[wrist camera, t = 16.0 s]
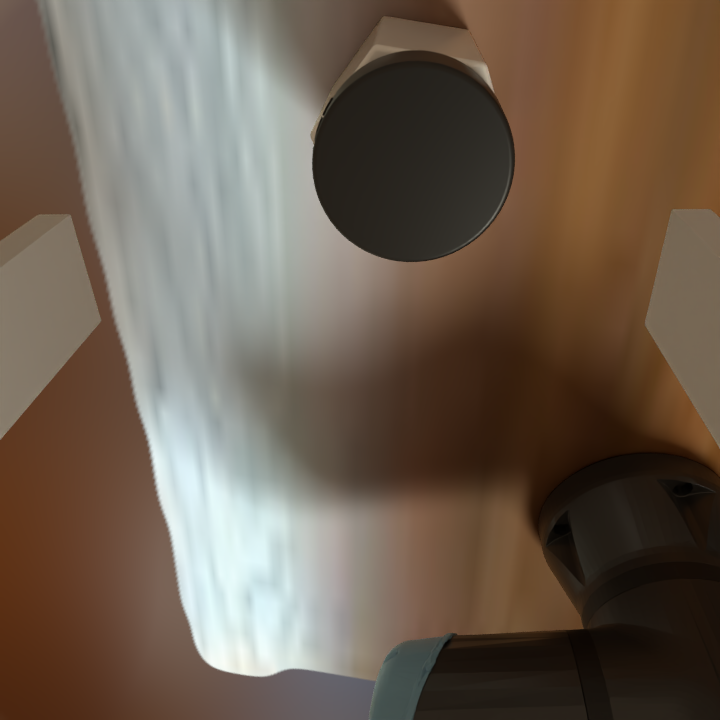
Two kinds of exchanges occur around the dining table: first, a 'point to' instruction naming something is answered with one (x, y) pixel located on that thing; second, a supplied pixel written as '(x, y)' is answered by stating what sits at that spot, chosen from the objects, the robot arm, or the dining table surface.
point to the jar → (413, 144)
